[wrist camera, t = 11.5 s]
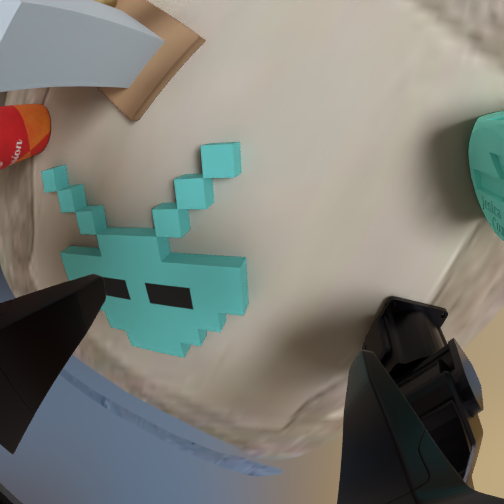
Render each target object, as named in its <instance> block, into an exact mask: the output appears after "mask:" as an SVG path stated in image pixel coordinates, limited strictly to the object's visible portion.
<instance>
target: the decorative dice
mask: <svg viewBox="0 0 504 504" xmlns="http://www.w3.org/2000/svg"><path fill="white" fill-rule="evenodd" d="M468 157H469V167H470V173H471V178H472V182H473V186H474V189H475V193H476V196H477V198H478V201H479V204H480V206H481V209H482V211H483V213H484V215H485V217H486V219H487V221H488V223H489V224H490V226H491V227H492V229H493V230H494V232H495V233H496V234H497V235H498V236H499V237H500V238H501V239H502V240H503V241H504V111H500V112H495V113H490V114H487V115H484V116H481V117H479V118H478V119H477V121H476V123H475V125H474V128H473V131H472V134H471V137H470V142H469V150H468Z"/></svg>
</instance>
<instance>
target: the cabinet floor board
mask: <svg viewBox="0 0 504 504" xmlns="http://www.w3.org/2000/svg"><path fill="white" fill-rule="evenodd" d="M93 1H96V2H99V3H102V4H105V5H108V6H111V7H113V8H116V9H119V10H121V11H123V12H125V13H126V14H128V15H129V16H131V17H132V18H134V19H135V20H137V21H138V22H139V23H141V24H142V25H144V26H145V27H147V28H148V29H149V30H151V31H152V32H154V33H155V34H156V35H158V36H159V37H160V38H162V39H163V40H164V41H165V42H164V44H163V45H162V46H161V47H160V48H159V49H158V51H157V52H156V53H155V54H154V55H153V57H152V58H151V59H150V60H149V62H148V63H147V64H146V65H145V67H144V68H143V69H142V71H141V72H140V73H139V74H138V76H137V77H136V78H135V80H134V81H133V83H132V84H131V85H130V87H129V88H120V87H97V88H98V89H99V90H100V91H101V92H103V93H104V94H105V95H106V96H107V97H108V98H109V99H110V100H111V101H112V102H113V103H114V104H115V105H116V106H117V107H118V108H119V109H120V110H121V111H122V112H123V113H124V114H125V115H126V116H127V117H128V118H129V119H130V120H139V119H140V118H141V117H142V115H143V114H144V113H145V111H146V110H147V108H148V107H149V106H150V104H151V103H152V102H153V101H154V99H155V98H156V97H157V95H158V94H159V93H160V92H161V90H162V89H163V88H164V87H165V85H166V84H167V83H168V82H169V81H170V79H171V78H172V77H173V76H174V75H175V73H176V72H177V71H178V70H179V69H180V68H181V67H182V65H183V64H184V63H185V62H186V61H187V60H188V59H189V58H190V57H191V55H192V54H193V53H194V52H195V51H196V50H197V49H198V48H199V47H200V46H201V45H202V44H203V43H204V42H205V41H206V40H204V39H203V38H202V37H200V36H199V35H198V34H196V33H195V32H194V31H192V30H191V29H189V28H188V27H187V26H185V25H184V24H182V23H181V22H179V21H178V20H176V19H175V18H173V17H172V16H170V15H169V14H167V13H166V12H164V11H163V10H161V9H159V8H158V7H156V6H155V5H153V4H151V3H150V2H148V1H146V0H93Z"/></svg>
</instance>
